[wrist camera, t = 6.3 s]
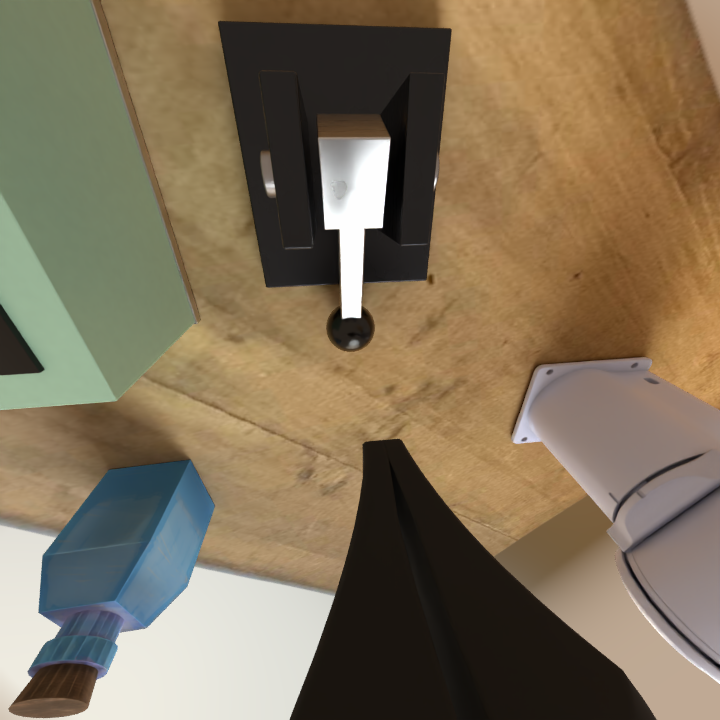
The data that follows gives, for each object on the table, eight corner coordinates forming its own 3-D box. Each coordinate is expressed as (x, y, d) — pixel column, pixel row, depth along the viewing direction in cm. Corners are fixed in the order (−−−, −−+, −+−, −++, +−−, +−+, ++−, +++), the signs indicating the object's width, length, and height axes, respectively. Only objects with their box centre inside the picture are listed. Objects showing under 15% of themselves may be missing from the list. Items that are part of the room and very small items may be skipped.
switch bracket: (420, 275, 17) (469, 316, 12) (269, 282, 17) (240, 330, 11) (441, 41, 12) (547, -94, 7) (226, 35, 12) (127, -125, 6)
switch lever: (370, 325, 19) (376, 359, 17) (327, 328, 18) (328, 363, 17) (387, 112, 10) (403, 139, 8) (306, 111, 10) (306, 140, 8)
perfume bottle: (190, 459, 23) (81, 678, 13) (214, 506, 26) (143, 711, 16) (108, 469, 22) (-73, 704, 12) (143, 515, 26) (23, 733, 15)
